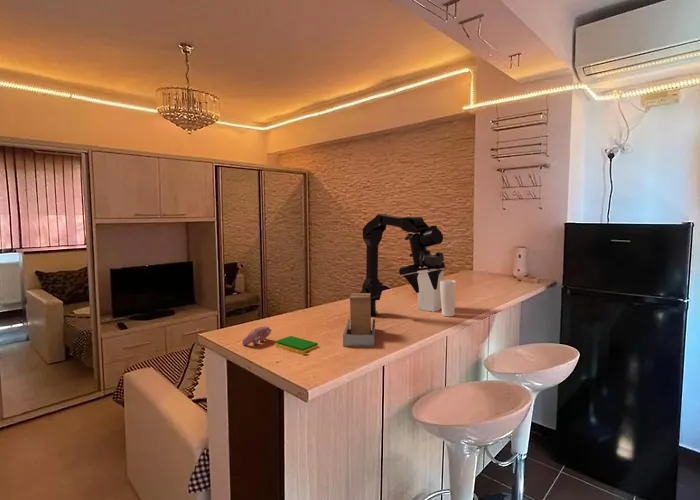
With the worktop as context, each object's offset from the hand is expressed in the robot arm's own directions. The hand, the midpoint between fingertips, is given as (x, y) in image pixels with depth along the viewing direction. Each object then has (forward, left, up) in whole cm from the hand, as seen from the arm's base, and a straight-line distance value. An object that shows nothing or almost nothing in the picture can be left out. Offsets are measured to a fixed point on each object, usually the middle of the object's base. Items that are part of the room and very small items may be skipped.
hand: (426, 291), depth 143 cm
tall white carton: (-36, +6, -16) cm, 40 cm away
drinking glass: (-24, +12, -16) cm, 31 cm away
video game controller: (+13, -60, -16) cm, 64 cm away
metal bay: (+9, -24, -15) cm, 30 cm away
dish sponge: (+18, -45, -16) cm, 51 cm away
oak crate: (+4, -24, -15) cm, 29 cm away
